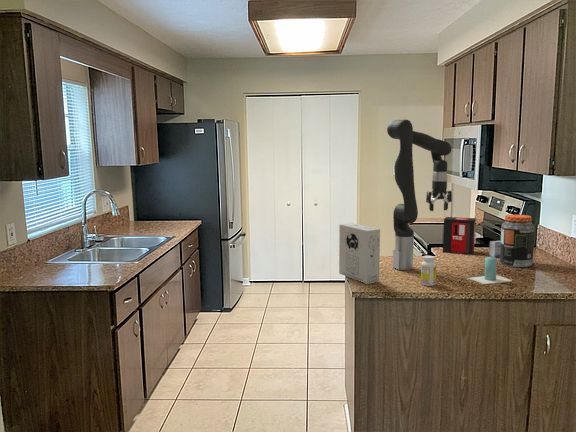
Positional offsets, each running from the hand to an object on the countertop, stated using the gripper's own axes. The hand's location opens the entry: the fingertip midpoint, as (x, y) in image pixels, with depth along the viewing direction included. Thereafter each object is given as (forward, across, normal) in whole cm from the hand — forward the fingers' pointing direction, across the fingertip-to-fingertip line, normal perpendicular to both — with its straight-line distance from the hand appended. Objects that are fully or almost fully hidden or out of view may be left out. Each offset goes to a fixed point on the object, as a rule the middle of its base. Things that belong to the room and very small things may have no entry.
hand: (438, 210), depth 252 cm
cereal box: (+28, -53, -14) cm, 62 cm away
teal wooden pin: (+28, +3, -38) cm, 47 cm away
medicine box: (+28, +40, 0) cm, 49 cm away
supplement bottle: (+28, -28, -34) cm, 52 cm away
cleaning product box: (+28, +26, +16) cm, 42 cm away
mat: (+28, +3, -37) cm, 47 cm away
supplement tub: (+28, +36, -18) cm, 49 cm away
